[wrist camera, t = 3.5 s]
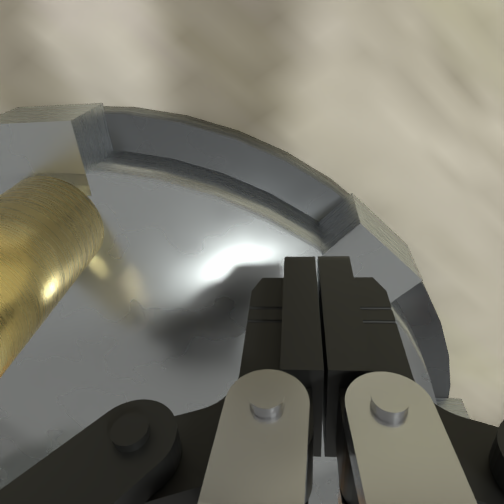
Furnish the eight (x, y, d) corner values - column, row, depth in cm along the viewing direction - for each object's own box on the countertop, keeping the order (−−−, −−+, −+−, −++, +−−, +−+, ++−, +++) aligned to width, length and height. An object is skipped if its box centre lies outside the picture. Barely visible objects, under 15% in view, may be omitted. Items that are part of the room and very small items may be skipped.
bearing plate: (512, 84, 12) (529, 91, 11) (404, 542, 25) (407, 561, 25) (-267, 123, 15) (-302, 130, 14) (2, 516, 28) (-7, 532, 27)
